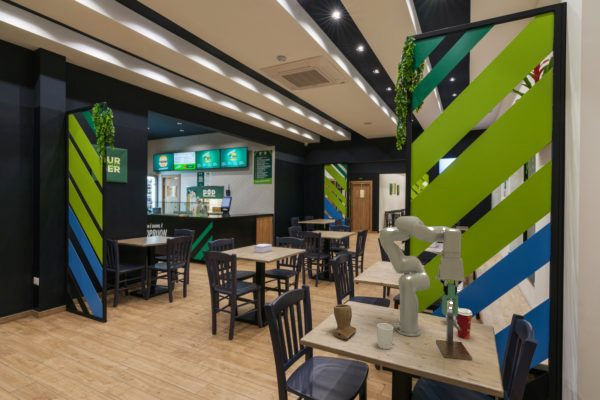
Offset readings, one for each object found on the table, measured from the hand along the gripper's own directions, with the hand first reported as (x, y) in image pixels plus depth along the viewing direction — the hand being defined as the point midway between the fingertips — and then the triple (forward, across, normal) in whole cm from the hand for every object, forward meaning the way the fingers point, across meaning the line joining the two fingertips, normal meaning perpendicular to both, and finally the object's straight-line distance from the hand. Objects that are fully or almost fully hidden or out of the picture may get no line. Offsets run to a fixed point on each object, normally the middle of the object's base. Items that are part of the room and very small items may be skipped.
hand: (450, 293), depth 151 cm
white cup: (+29, -28, +3) cm, 41 cm away
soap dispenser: (+29, +12, +38) cm, 50 cm away
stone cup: (+30, -49, +14) cm, 59 cm away
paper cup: (+29, +14, +22) cm, 39 cm away
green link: (+10, 0, 0) cm, 10 cm away
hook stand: (+29, +4, +4) cm, 29 cm away
